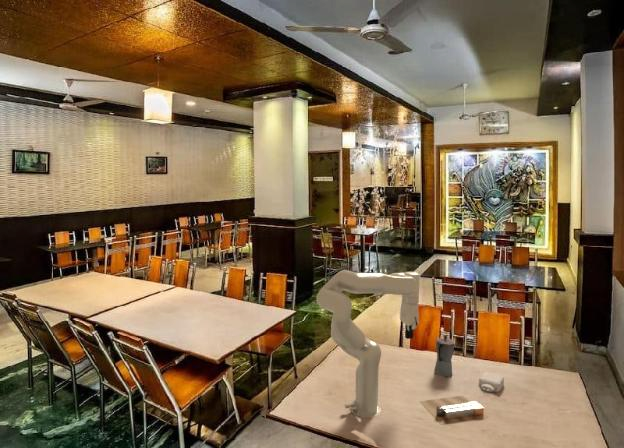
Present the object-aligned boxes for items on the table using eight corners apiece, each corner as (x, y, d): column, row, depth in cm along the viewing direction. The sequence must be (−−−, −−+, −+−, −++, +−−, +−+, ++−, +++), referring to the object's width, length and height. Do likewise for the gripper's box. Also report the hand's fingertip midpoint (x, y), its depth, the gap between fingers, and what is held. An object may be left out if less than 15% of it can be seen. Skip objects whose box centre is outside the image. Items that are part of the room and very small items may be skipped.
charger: (475, 392, 195) (483, 380, 207) (495, 398, 189) (503, 385, 201) (475, 382, 194) (484, 371, 206) (496, 388, 189) (504, 376, 201)
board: (441, 427, 167) (441, 424, 166) (419, 404, 184) (419, 401, 184) (488, 420, 172) (488, 417, 172) (462, 397, 189) (463, 395, 189)
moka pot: (456, 370, 216) (458, 333, 214) (449, 382, 203) (450, 343, 201) (438, 366, 221) (439, 330, 219) (429, 377, 208) (430, 339, 206)
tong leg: (438, 417, 171) (438, 410, 171) (434, 413, 174) (435, 406, 174) (479, 411, 176) (480, 404, 175) (475, 407, 179) (475, 401, 178)
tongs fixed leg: (447, 420, 169) (447, 413, 169) (444, 416, 172) (444, 409, 171) (483, 414, 173) (483, 407, 173) (479, 411, 176) (480, 404, 175)
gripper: (395, 295, 195) (394, 332, 197) (410, 304, 180) (408, 344, 182) (410, 294, 197) (409, 331, 198) (425, 303, 182) (424, 343, 184)
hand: (409, 338), depth 190 cm, fingers closed
